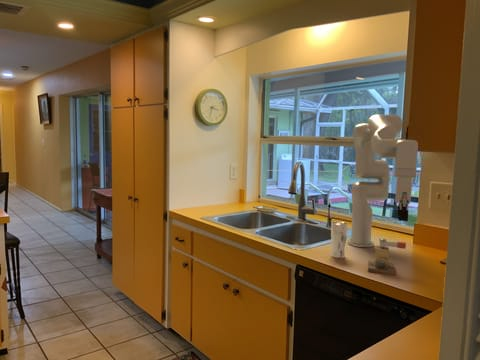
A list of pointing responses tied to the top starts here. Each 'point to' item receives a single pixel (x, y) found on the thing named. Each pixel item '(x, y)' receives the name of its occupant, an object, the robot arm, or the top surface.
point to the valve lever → (392, 244)
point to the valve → (381, 262)
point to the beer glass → (338, 239)
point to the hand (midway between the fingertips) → (402, 218)
